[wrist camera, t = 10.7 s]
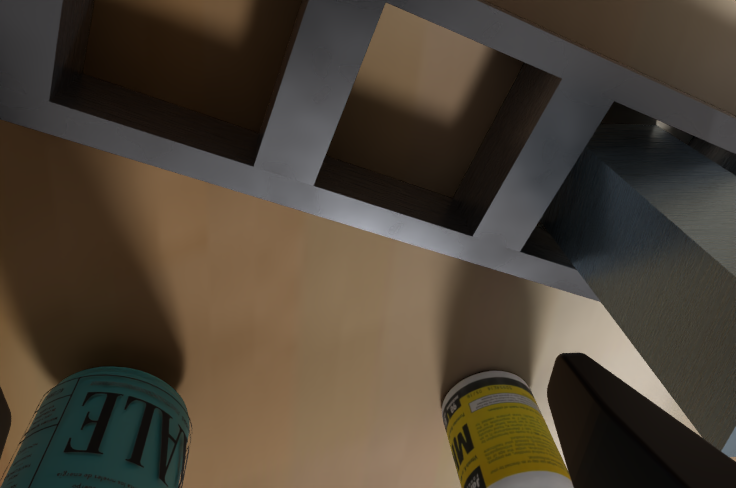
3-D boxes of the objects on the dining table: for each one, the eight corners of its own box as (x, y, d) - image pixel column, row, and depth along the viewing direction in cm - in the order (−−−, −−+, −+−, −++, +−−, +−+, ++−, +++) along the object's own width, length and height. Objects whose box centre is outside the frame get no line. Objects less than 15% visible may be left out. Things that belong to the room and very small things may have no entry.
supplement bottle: (436, 376, 28) (484, 541, 21) (529, 359, 28) (609, 517, 21) (443, 439, 30) (488, 605, 23) (529, 424, 31) (599, 584, 23)
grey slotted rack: (13, 80, 19) (-32, 109, 16) (42, -203, 15) (-9, -222, 12) (633, 281, 26) (669, 323, 23) (752, 124, 22) (811, 153, 20)
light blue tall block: (535, 215, 24) (725, 468, 13) (558, 123, 22) (804, 336, 11) (625, 215, 24) (877, 459, 14) (656, 125, 22) (979, 331, 12)
